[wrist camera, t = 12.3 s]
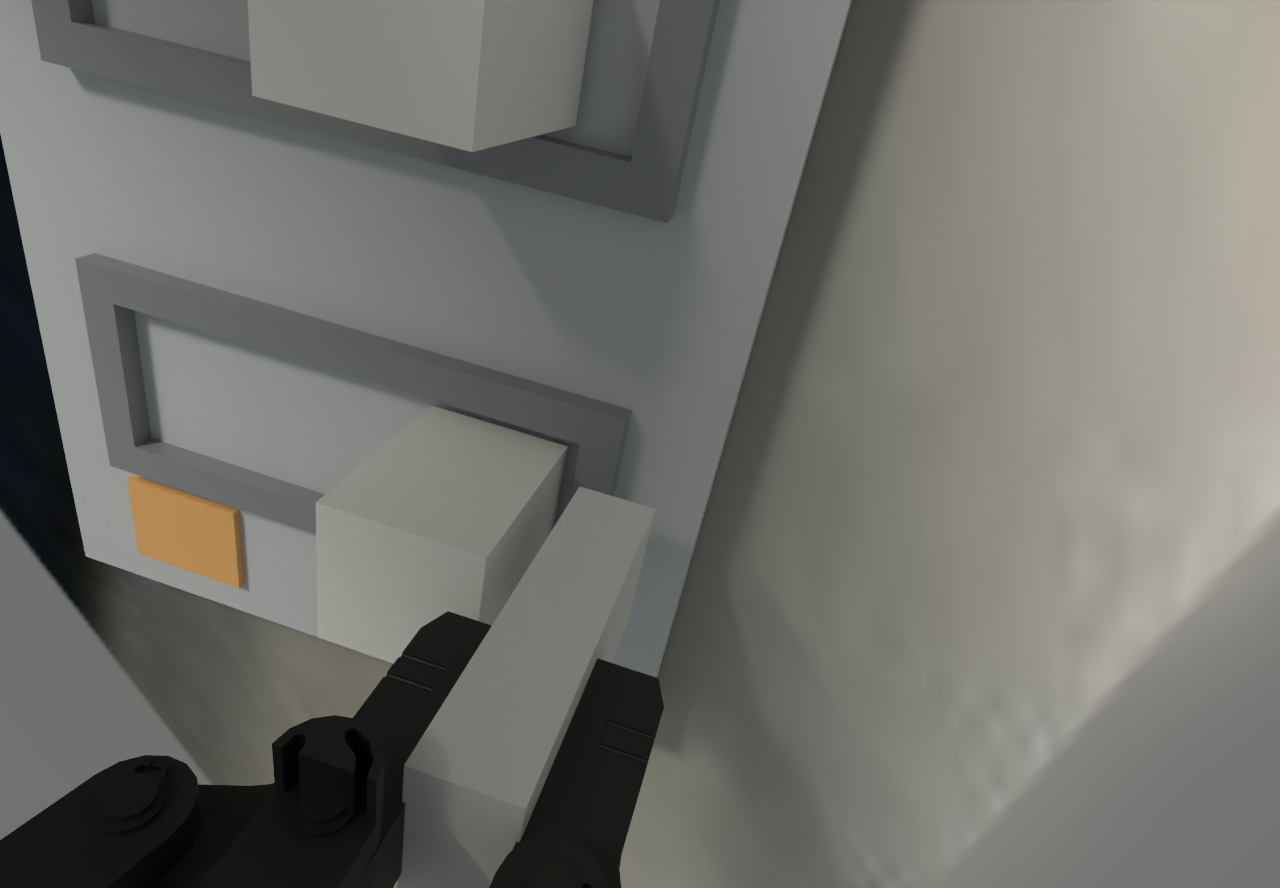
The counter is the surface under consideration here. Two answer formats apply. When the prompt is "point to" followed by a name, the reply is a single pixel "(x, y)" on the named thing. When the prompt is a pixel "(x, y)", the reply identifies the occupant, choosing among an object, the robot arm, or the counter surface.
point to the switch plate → (393, 277)
